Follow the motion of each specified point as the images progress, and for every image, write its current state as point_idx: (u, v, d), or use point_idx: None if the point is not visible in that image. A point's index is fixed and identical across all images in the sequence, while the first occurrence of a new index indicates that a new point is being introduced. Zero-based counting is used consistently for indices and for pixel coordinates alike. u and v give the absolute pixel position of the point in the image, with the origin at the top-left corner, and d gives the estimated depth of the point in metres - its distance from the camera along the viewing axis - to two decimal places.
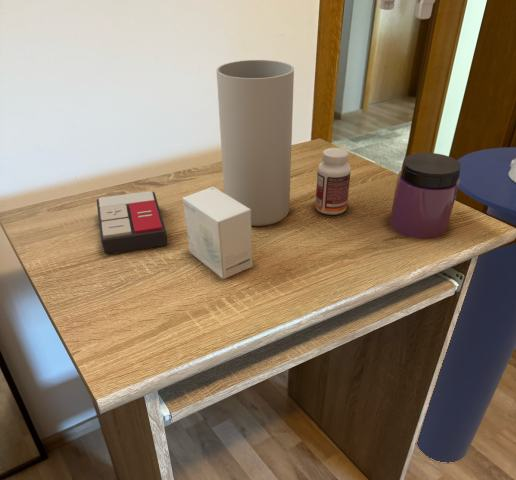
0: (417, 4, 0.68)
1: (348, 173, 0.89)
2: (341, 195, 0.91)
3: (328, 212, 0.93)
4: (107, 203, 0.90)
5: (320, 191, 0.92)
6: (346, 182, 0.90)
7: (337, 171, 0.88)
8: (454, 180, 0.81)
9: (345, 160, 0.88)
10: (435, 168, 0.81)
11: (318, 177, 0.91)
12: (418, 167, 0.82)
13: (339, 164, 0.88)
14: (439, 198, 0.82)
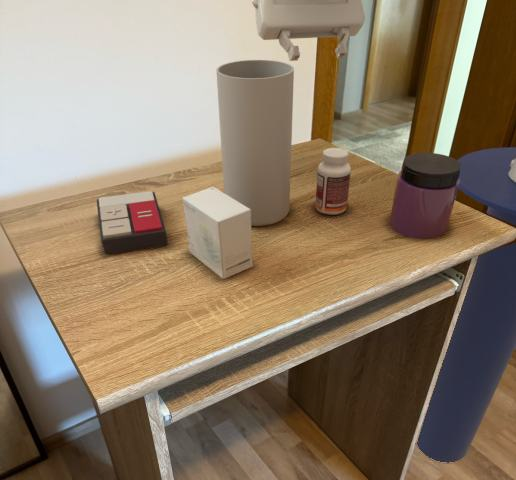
0: None
1: (348, 173, 0.89)
2: (341, 195, 0.91)
3: (328, 212, 0.93)
4: (107, 203, 0.90)
5: (320, 191, 0.92)
6: (346, 182, 0.90)
7: (337, 171, 0.88)
8: (454, 180, 0.81)
9: (345, 160, 0.88)
10: (435, 168, 0.81)
11: (318, 177, 0.91)
12: (418, 167, 0.82)
13: (339, 164, 0.88)
14: (439, 198, 0.82)
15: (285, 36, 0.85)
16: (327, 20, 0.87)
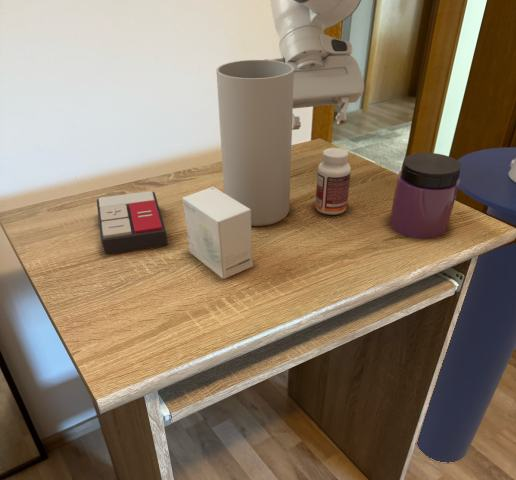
0: None
1: (348, 173, 0.89)
2: (341, 195, 0.91)
3: (328, 212, 0.93)
4: (107, 203, 0.90)
5: (320, 191, 0.92)
6: (346, 182, 0.90)
7: (337, 171, 0.88)
8: (454, 180, 0.81)
9: (345, 160, 0.88)
10: (435, 168, 0.81)
11: (318, 177, 0.91)
12: (418, 167, 0.82)
13: (339, 164, 0.88)
14: (439, 198, 0.82)
15: None
16: (327, 92, 0.92)
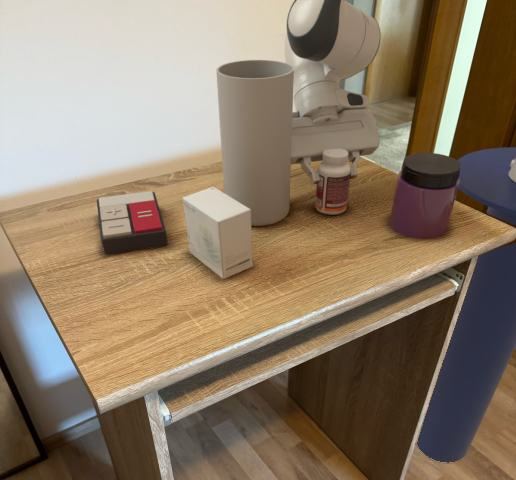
0: None
1: (348, 173, 0.89)
2: (341, 195, 0.91)
3: (328, 212, 0.93)
4: (107, 203, 0.90)
5: (320, 191, 0.92)
6: (346, 182, 0.90)
7: (337, 171, 0.88)
8: (454, 180, 0.81)
9: (345, 160, 0.88)
10: (435, 168, 0.81)
11: None
12: (418, 167, 0.82)
13: (339, 164, 0.88)
14: (439, 198, 0.82)
15: (306, 163, 0.90)
16: (343, 146, 0.90)
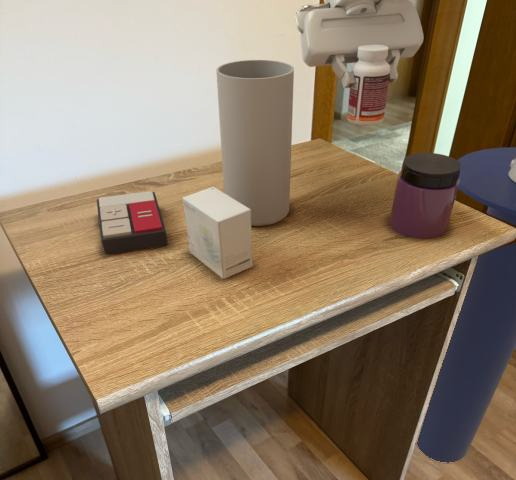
0: None
1: (388, 72, 0.77)
2: (379, 100, 0.79)
3: (362, 122, 0.81)
4: (107, 203, 0.90)
5: (354, 96, 0.79)
6: (385, 84, 0.78)
7: (375, 68, 0.76)
8: (454, 180, 0.81)
9: (385, 55, 0.75)
10: (435, 168, 0.81)
11: None
12: (418, 167, 0.82)
13: (378, 60, 0.75)
14: (439, 198, 0.82)
15: (339, 62, 0.77)
16: (381, 42, 0.78)
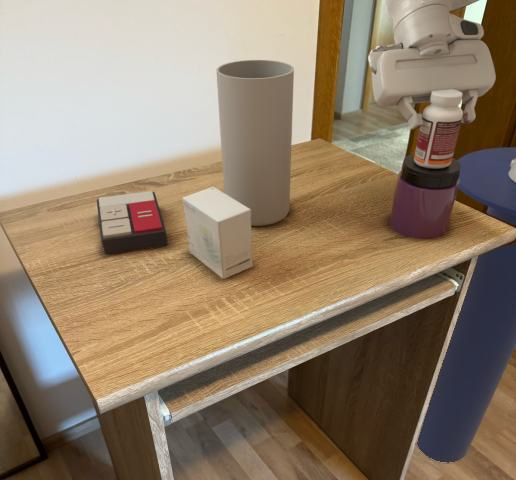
0: None
1: (461, 117, 0.76)
2: (450, 144, 0.78)
3: (431, 165, 0.80)
4: (107, 203, 0.90)
5: (424, 140, 0.79)
6: (457, 129, 0.77)
7: (449, 114, 0.75)
8: (454, 180, 0.81)
9: (459, 101, 0.75)
10: None
11: (423, 123, 0.78)
12: (418, 167, 0.82)
13: (452, 106, 0.75)
14: (439, 198, 0.82)
15: (407, 103, 0.76)
16: (455, 83, 0.77)
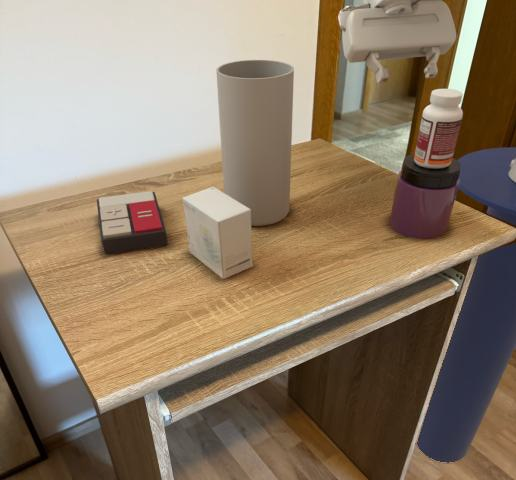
0: None
1: (461, 117, 0.76)
2: (450, 144, 0.78)
3: (431, 165, 0.80)
4: (107, 203, 0.90)
5: (424, 140, 0.79)
6: (457, 129, 0.77)
7: (449, 114, 0.75)
8: (454, 180, 0.81)
9: (459, 101, 0.75)
10: None
11: (423, 123, 0.78)
12: (418, 167, 0.82)
13: (452, 106, 0.75)
14: (439, 198, 0.82)
15: (374, 58, 0.83)
16: (418, 40, 0.84)
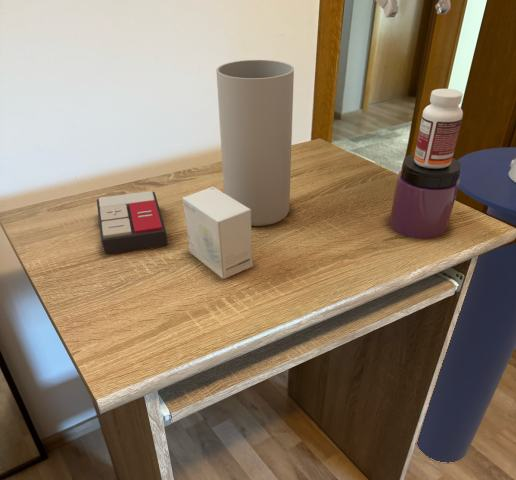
0: None
1: (461, 117, 0.76)
2: (450, 144, 0.78)
3: (431, 165, 0.80)
4: (107, 203, 0.90)
5: (424, 140, 0.79)
6: (457, 129, 0.77)
7: (449, 114, 0.75)
8: (454, 180, 0.81)
9: (459, 101, 0.75)
10: None
11: (423, 123, 0.78)
12: (418, 167, 0.82)
13: (452, 106, 0.75)
14: (439, 198, 0.82)
15: None
16: None
